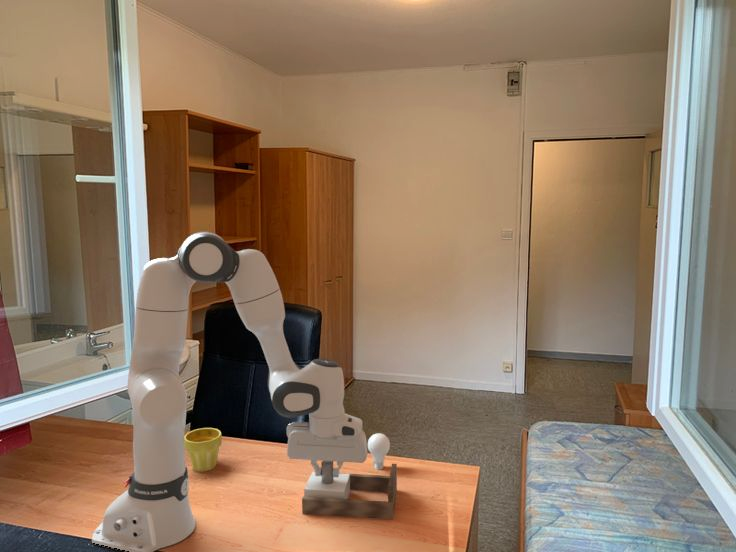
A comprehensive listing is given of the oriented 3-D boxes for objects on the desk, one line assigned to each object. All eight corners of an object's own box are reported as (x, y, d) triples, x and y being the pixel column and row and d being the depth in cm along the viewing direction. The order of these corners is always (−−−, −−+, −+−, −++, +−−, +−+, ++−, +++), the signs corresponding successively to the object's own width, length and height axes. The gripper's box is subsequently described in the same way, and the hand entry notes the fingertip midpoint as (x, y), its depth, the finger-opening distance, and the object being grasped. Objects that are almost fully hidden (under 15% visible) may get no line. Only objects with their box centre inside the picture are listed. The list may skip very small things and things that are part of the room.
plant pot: (194, 478, 153) (193, 445, 152) (179, 465, 161) (178, 433, 159) (228, 467, 160) (227, 435, 158) (213, 455, 167) (211, 424, 166)
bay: (302, 517, 133) (301, 483, 132) (314, 488, 147) (314, 457, 146) (392, 523, 131) (392, 488, 130) (396, 493, 144) (396, 461, 143)
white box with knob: (304, 508, 136) (303, 469, 134) (312, 489, 144) (311, 453, 143) (344, 510, 134) (343, 472, 133) (350, 492, 143) (349, 455, 142)
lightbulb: (390, 476, 154) (390, 438, 152) (367, 476, 154) (367, 438, 152) (389, 465, 160) (389, 429, 159) (367, 465, 160) (367, 429, 159)
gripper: (282, 426, 135) (284, 479, 137) (365, 430, 133) (365, 484, 134) (289, 416, 141) (290, 467, 143) (368, 420, 139) (368, 472, 140)
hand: (327, 475), depth 139 cm, fingers closed on white box with knob, 3 cm apart
